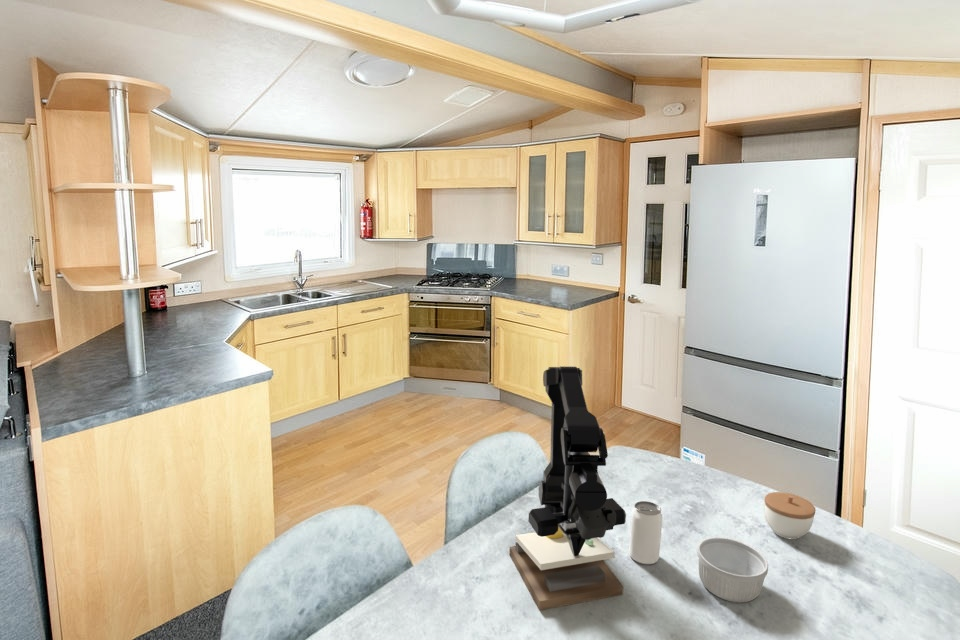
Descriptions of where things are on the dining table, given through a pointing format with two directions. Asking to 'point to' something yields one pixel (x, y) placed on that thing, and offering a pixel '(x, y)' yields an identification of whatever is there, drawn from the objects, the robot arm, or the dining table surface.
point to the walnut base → (567, 594)
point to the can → (645, 533)
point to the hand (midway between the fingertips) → (575, 554)
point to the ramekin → (731, 569)
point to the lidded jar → (788, 514)
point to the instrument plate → (561, 550)
